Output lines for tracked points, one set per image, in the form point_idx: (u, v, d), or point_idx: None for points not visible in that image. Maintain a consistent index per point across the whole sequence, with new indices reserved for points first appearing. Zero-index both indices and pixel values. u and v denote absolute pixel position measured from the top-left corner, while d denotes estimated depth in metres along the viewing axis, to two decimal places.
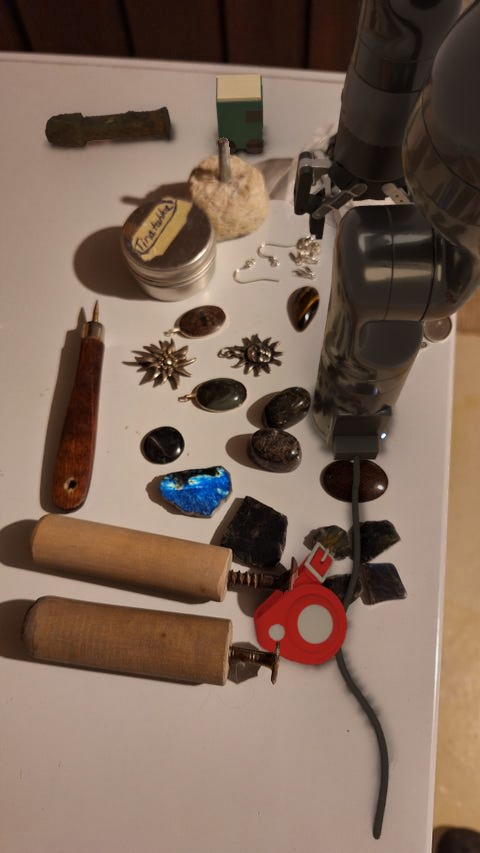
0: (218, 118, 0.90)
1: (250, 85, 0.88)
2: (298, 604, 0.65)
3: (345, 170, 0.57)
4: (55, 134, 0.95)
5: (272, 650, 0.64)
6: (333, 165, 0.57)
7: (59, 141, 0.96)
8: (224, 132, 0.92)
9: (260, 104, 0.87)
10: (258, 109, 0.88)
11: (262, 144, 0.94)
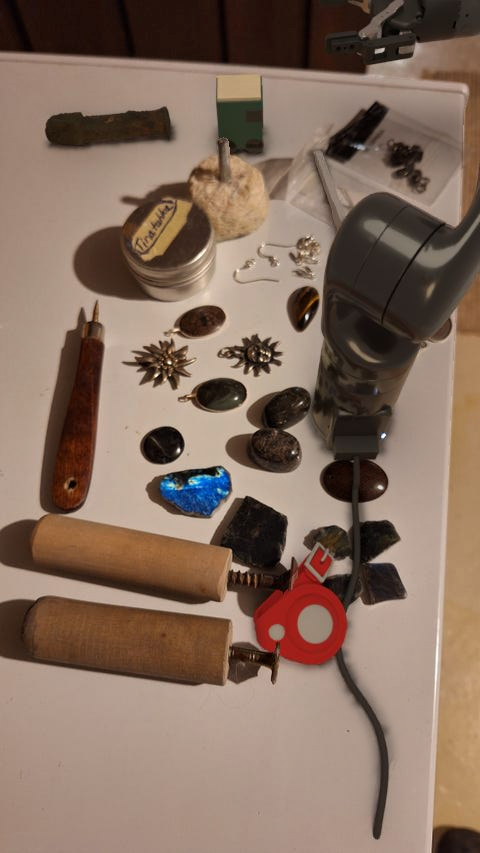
0: (218, 118, 0.90)
1: (250, 85, 0.88)
2: (298, 604, 0.65)
3: None
4: (55, 133, 0.95)
5: (272, 650, 0.64)
6: None
7: (59, 140, 0.96)
8: (224, 132, 0.92)
9: (260, 104, 0.87)
10: (258, 109, 0.88)
11: (262, 144, 0.94)
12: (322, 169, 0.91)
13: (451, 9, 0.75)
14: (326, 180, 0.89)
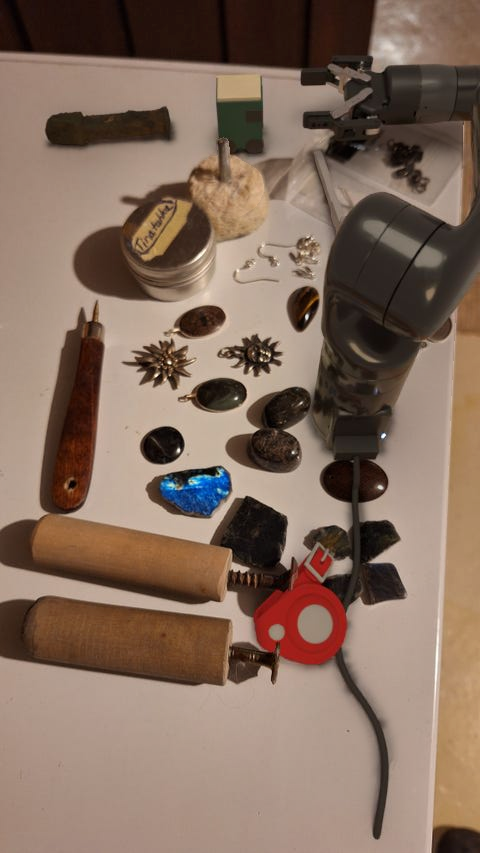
0: (218, 118, 0.90)
1: (250, 85, 0.88)
2: (298, 604, 0.65)
3: (375, 75, 0.89)
4: (55, 133, 0.95)
5: (272, 650, 0.64)
6: None
7: (59, 140, 0.96)
8: (224, 132, 0.92)
9: (260, 104, 0.87)
10: (258, 109, 0.88)
11: (262, 144, 0.94)
12: (321, 169, 0.91)
13: (412, 101, 0.86)
14: (325, 180, 0.89)
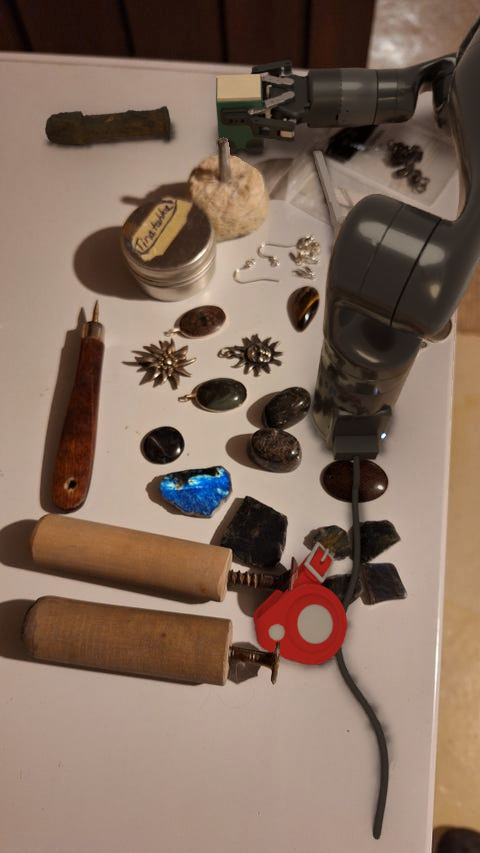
0: (218, 118, 0.90)
1: (250, 85, 0.88)
2: (298, 604, 0.65)
3: (299, 78, 0.90)
4: (55, 132, 0.95)
5: (272, 650, 0.64)
6: None
7: (59, 139, 0.96)
8: (224, 132, 0.92)
9: (260, 104, 0.87)
10: None
11: (262, 144, 0.94)
12: (321, 169, 0.91)
13: (333, 105, 0.87)
14: (324, 180, 0.89)
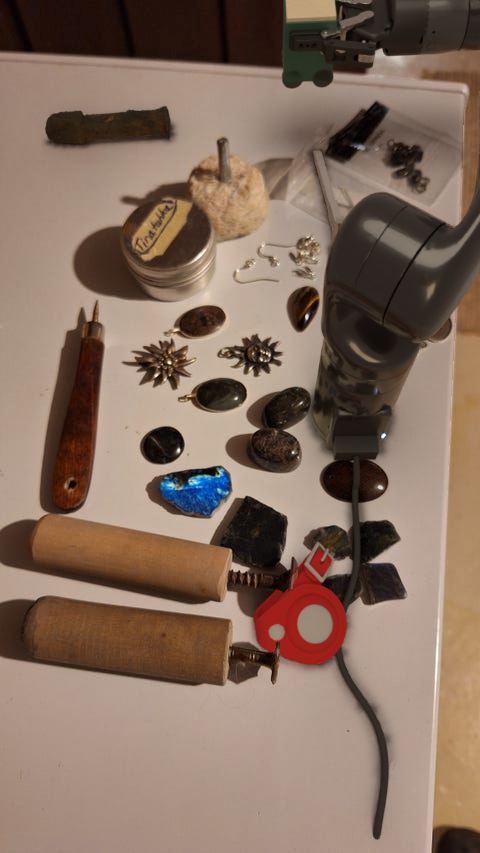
0: (285, 43, 0.79)
1: (323, 4, 0.78)
2: (298, 604, 0.65)
3: None
4: (55, 132, 0.95)
5: (272, 650, 0.64)
6: None
7: (59, 138, 0.96)
8: (290, 61, 0.82)
9: (335, 25, 0.77)
10: None
11: (332, 76, 0.84)
12: (320, 169, 0.91)
13: (419, 25, 0.77)
14: (323, 180, 0.89)
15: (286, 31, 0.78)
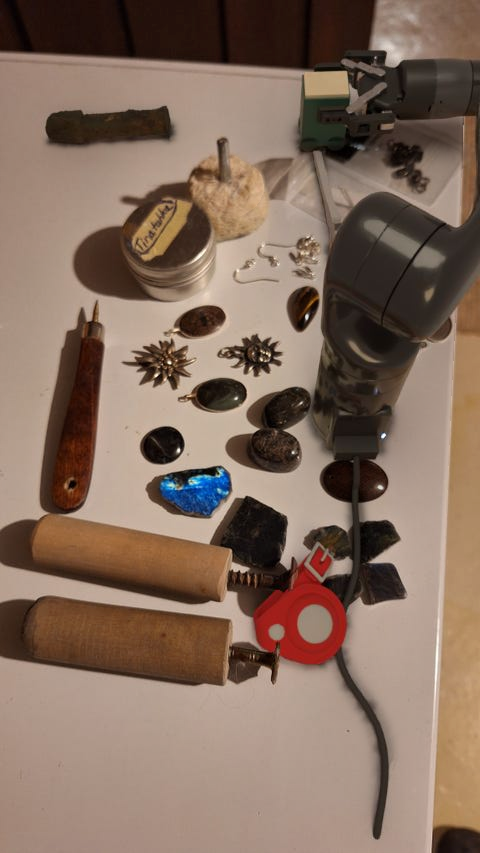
0: (303, 115, 0.89)
1: (338, 82, 0.87)
2: (298, 604, 0.65)
3: (389, 70, 0.89)
4: (55, 131, 0.95)
5: (272, 650, 0.64)
6: None
7: (59, 138, 0.96)
8: (307, 130, 0.91)
9: (348, 101, 0.87)
10: (345, 106, 0.88)
11: (344, 141, 0.93)
12: (319, 169, 0.91)
13: (427, 96, 0.85)
14: (322, 180, 0.89)
15: (304, 105, 0.88)
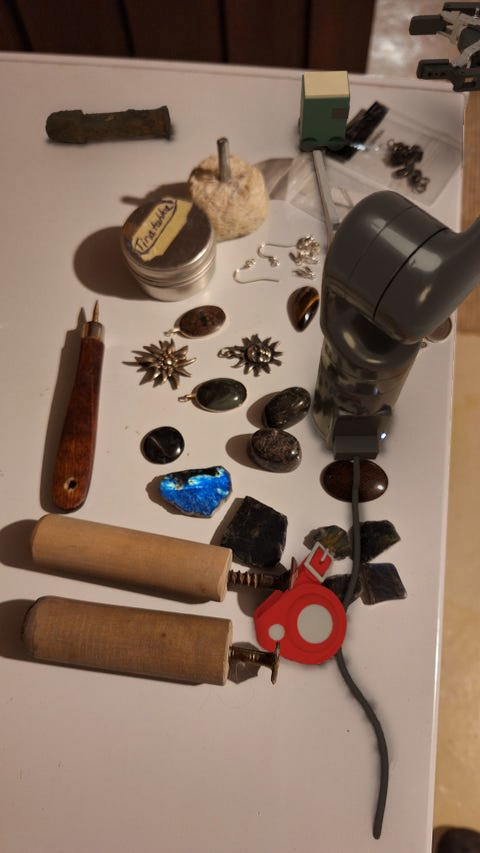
0: (303, 115, 0.89)
1: (338, 82, 0.87)
2: (298, 604, 0.65)
3: None
4: (55, 130, 0.95)
5: (272, 650, 0.64)
6: None
7: (59, 137, 0.96)
8: (307, 130, 0.91)
9: (348, 101, 0.87)
10: (345, 106, 0.88)
11: (344, 141, 0.93)
12: (319, 169, 0.91)
13: None
14: (321, 180, 0.89)
15: (304, 105, 0.88)
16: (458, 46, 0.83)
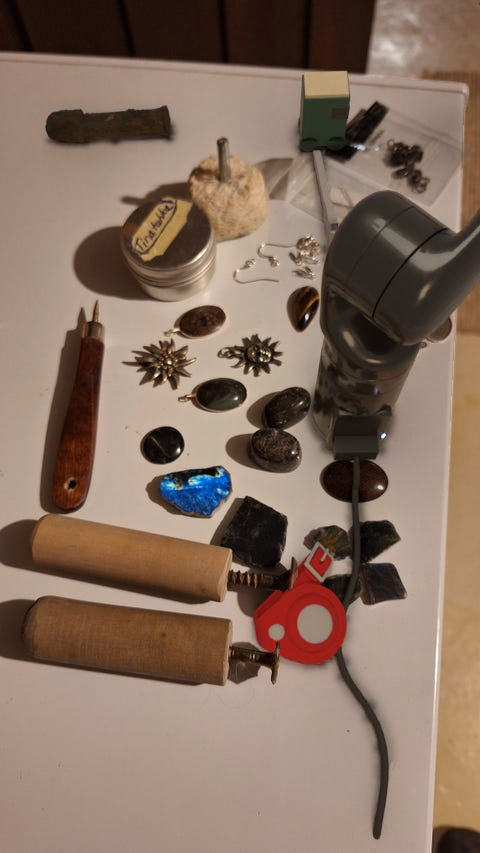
0: (303, 115, 0.89)
1: (338, 82, 0.87)
2: (298, 604, 0.65)
3: None
4: (55, 130, 0.95)
5: (272, 650, 0.64)
6: None
7: (59, 137, 0.96)
8: (307, 130, 0.91)
9: (348, 101, 0.87)
10: (345, 106, 0.88)
11: (344, 141, 0.93)
12: (318, 169, 0.91)
13: None
14: (321, 180, 0.89)
15: (304, 105, 0.88)
16: None
